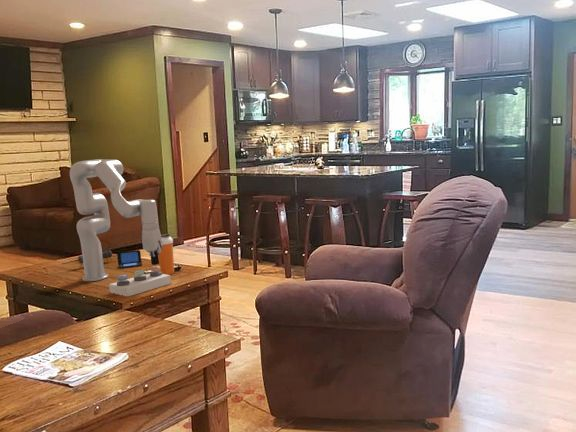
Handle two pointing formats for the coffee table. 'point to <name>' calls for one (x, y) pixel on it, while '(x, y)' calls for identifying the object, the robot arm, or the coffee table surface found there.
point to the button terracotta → (155, 268)
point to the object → (129, 259)
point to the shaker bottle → (166, 255)
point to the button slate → (122, 277)
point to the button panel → (140, 283)
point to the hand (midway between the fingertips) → (155, 264)
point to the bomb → (105, 255)
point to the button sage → (139, 272)
